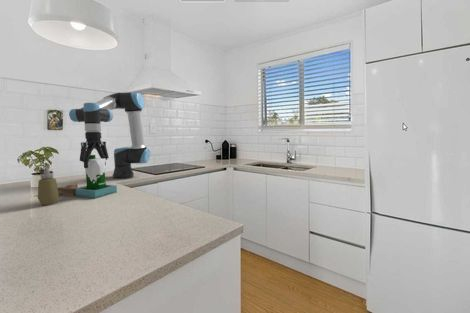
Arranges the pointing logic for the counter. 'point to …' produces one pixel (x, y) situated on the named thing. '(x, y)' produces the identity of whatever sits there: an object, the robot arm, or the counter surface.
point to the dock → (68, 190)
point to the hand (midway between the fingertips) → (95, 172)
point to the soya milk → (96, 174)
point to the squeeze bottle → (47, 188)
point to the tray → (96, 192)
